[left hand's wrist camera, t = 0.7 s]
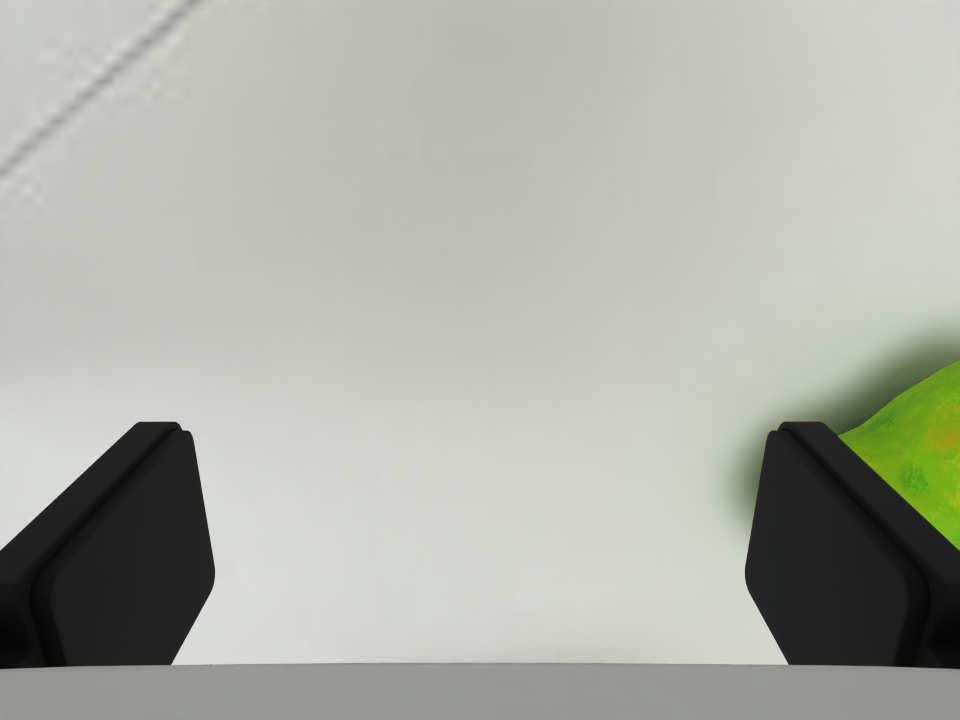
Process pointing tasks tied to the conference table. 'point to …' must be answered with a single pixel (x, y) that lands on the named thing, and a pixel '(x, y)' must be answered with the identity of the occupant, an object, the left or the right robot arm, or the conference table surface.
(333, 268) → the conference table surface
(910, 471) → the decorative tree
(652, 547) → the conference table surface
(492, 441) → the conference table surface
